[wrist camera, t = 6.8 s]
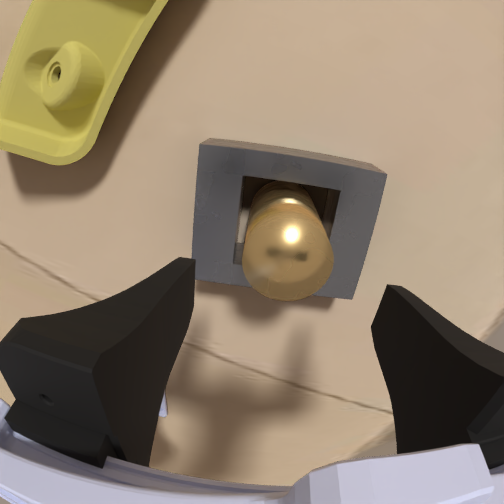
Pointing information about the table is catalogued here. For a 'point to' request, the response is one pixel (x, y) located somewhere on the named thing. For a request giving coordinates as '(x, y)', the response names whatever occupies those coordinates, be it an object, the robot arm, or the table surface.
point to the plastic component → (68, 74)
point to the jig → (291, 170)
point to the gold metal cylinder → (286, 244)
